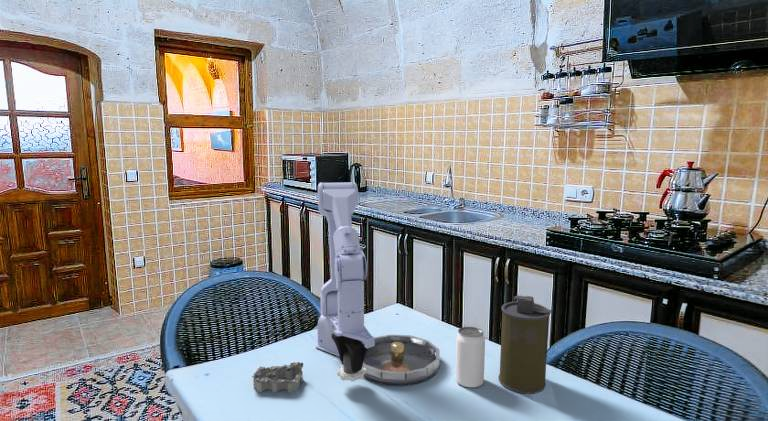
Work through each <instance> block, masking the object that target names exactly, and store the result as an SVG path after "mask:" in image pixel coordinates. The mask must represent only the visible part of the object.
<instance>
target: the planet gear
mask: <svg viewBox="0 0 768 421" xmlns="http://www.w3.org/2000/svg"><path fill="white" fill-rule="evenodd" d="M336 371H337V373H336V374H337V375H336V376H337V377H339V378H340V380H341V381H350V382H355V381H356V380H362V379H365V377H364V374H366V368H363V367H362V369H361V370H360V371H357V372H353V371H352V368H351V360H350V354H349V352H346V353H344V355H343V365H342V364H341V365H339V369H337V370H336Z"/></svg>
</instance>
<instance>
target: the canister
mask: <svg viewBox="0 0 768 421" xmlns="http://www.w3.org/2000/svg"><path fill="white" fill-rule="evenodd" d="M534 300H535V299H534V296H531V295H527V296H524V295H515V296H513V301H510V302H507V303H503V304H502V305H501V308H500V309H501V312H502V313H501V332H500V333H501V336H500V357H499V358H500V359H499V360H500V361H499V374H498V381H499V384H501V385H502V386H503V387H504V388H506V389H507V390H509V391H513V392H515V393H518V394H520V393H521V394H527V395H528V394H529V395H530V394H532V395H533V394H538V393H541V392H543V391H544V390H545V389H546V387H547V383H546V372H547V359H548V358H547V357H548V343H549V342H550V344H549V346H551V342H552V341H549V327H550V326H549V325H550V323H549V322H550V315H551V314H553V310H552V309H549V308H548V307H546V306H543V305H542V304H539V303H535V301H534ZM552 325H553V324H551V328H550V329H552ZM548 341H549V342H548ZM550 359H551V358H549V361H550Z"/></svg>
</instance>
